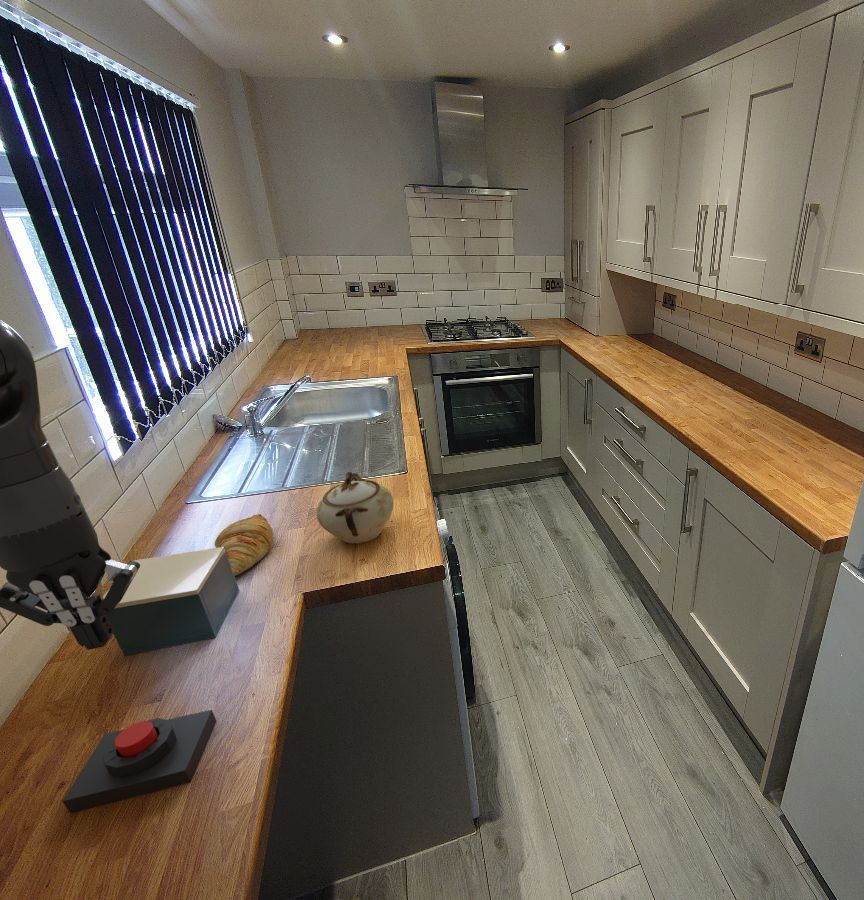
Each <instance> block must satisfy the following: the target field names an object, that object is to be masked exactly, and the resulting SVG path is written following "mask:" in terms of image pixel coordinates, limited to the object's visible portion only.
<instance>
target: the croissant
mask: <svg viewBox="0 0 864 900" xmlns="http://www.w3.org/2000/svg"><path fill="white" fill-rule="evenodd" d="M273 536H274V534H273V528H272V527H271V525H270V523H269V522H268V519H267V518H266V517H265V516H263V515H262V514H261V513H258V514H253V515H252V516H250V517H247V518H244V519H240V520H237V521H235V522H233V523H230V524H229V525H228V526H226V527H225V528H223V530H222V531H220V532H219V534H218V535H217V537H216V538H215V540H214V544H213V545H214V548H219V547H224V549H225V552H226V554H227V557H228V560H229V563H230V566H231V568H232V571H233V574H234V577H236V576H238V575H240V574H242V573H243V572H245V571H247V570H249V569H250V568H252V567H253V566H254V565H255V564H257V563H258V562H259V561H261V560H262V559H263V558H264V557H265V556H266V555H267V554H268V553H270V552H271V551H272V550H273V542H274V541H273V540H274V539H273Z"/></svg>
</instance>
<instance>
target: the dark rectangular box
mask: <svg viewBox="0 0 864 900" xmlns="http://www.w3.org/2000/svg"><path fill="white" fill-rule="evenodd" d="M239 593H240V588H239V585H238V583H237V580H236V576H234V574H233V571H232V568H231V566H230V563H229V560H228V557H227V554H226V552H225V551H224V553H223V554H222V556H221V558H220V559H219V561H218V563H217V564H216V566H215V567H214V569H213V571H212V572H211V574H210V576H209V577H208V579H207V580H206V582H205V584H204V585H203V587H202V589H201V590H200V592H199V594H196V595H190V596H184V597H178V598H172V599H166V600H161V601H155V602H149V603H143V604H137V605H131V606H126V607H120V608H114V610H113V611H112V612H111V613H110V614H109V615H107V616H108V618H109V620H110V622H111V624H112V626H113V628H114V633H113V636H114V638H115V641H116V642H117V644H118V646H119V648H120V650H121V652H122V654H123V656H128V655H133V654H139V653H144V652H149V651H154V650H159V649H164V648H169V647H174V646H180V645H185V644H189V643H190V644H191V643H195V642H200V641H205V640H209V639H216V637H217V636H218V634H219V632H220V630H221V628H222V626H223V624H224V622H225V620H226V618H227V616H228V614H229V613H230V610H231V608H232V606H233V604H234V602H235V600H236V599H237V596H238V594H239Z"/></svg>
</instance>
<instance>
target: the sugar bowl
mask: <svg viewBox="0 0 864 900" xmlns="http://www.w3.org/2000/svg"><path fill="white" fill-rule="evenodd" d="M393 509H394V498H393V496H392V494H391V492H390V491H389V490H388V488H386V487H385V486H384V485H382V484H380V483H378V482H377V481H374V480H370V479H364V478H361V477H360V475H359V473H357V472H352V471H348V472H346V474H345V480H344V481H343V483H341V484H338V485H335V486H334V487H333V486H332V487H331V488H330V489H328V491H326V492H325V493H324V494H323V496H322V498H321V499H320V501H319V502H318V505H317V507H316V519H317V522H318V523H319V525H320V527H322V529H323V530H325V531H326V532H328V533H329V534H331V535H333V537H336V538H338V539H340V540H341V541H342V542H344V543H346V544H351V543H356V544H362V542H363V543H367V542H370V541H373V540H375V539H376V538H377V537H378V536H380V535H381V534H382V532H383V530H384V528H385V526H386V525H387V523H388V521H389V519H390V518H391V515H392V514H393V513H392V512H393V511H394V510H393ZM380 533H381V534H380ZM379 534H380V535H379Z"/></svg>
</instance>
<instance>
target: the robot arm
mask: <svg viewBox="0 0 864 900" xmlns="http://www.w3.org/2000/svg"><path fill="white" fill-rule="evenodd" d="M36 367H37V366H36V363H35V359H34V355H33V353H32V352H31V348H30V347H29V346H28V344H27V343H26V340H24V339H23V337H22V335H20V334H19V333H18V332H17V331H16V330H15V329H14V328H12V326H10V325H9V324H8V323H6V322H5V321H3V320H2V319H0V568H1V569H3V570H4V571H6V574H5V579H6V581H7V582H5V583H4V584H2V585H1V587H0V608H2V609H3V610H6V611H8V612H10V613H13V614H15V615H18V616H20V617H22V618H25V619H28V620H30V621H32V622H35V623H37V624H39V625H42V626H44V627H50V626H52V625H54V624H62V625H63V626H65V627H68V628H69V630H70V631H71V633H72V635H73V637H74V639H75V641H76V642H77V644H78V645H80V646H81V647H84V648H85V650H86V651H89V650H94V649H100V648H104V647H105V646H106V645H107V644H108V642H109V641H110V640H111V639H112V636H114V634H113V633H114V628H113V626H112V624H111V622H110V620H109V618H108V616H107V615H109V614H110V613H111V612H112V611H113V610H114V608H115V606H116V605H117V604H118V603H119V602H120V601H121V600H122V598H123V596H124V594H125V593H126V591H127V589H128V587H129V586H130V584H131V582H132V580H133V578H134V577H135V575H136V573H137V571H138V570H139V568H140V564H139V563H138V562H136V561H134V560H131V561H128V563H124V562H121V561H120V562H119V561H117V560H113V559H112V557H111V554H110V553H109V552H108V551H106V550H105V549H104V548H102V547H101V545H100V543H99V538H98V533H97V532H96V529H95V527H94V525H93V523H92V521H91V519H90V517H89V514H88V512H87V509H85V506H84V504H83V502H82V498H81V497H80V495H79V493H78V491H77V489H76V488H75V486H74V483H73V481H72V480H71V479H70V477H69V476H68V475H67V473H66V472H65V470H64V469H63V467H62V466H61V464H60V463H59V460H58V458H57V455H56V454H55V452H54V449H53V448H52V445H51V444H50V441H49V439H48V437H47V436H46V434H45V432H44V430H43V426H42V413H41V403H40V394H39V393H40V392H39V385H38V384H39V383H38V374H37V368H36ZM105 574H107V580H108V581H107V583H108V584H110V587H109V589H108V590H109V591H108V590H107V591H108V593H107V595H106V596H105V598H103V596H104V595H103V593H102V592H103V585H102V580H103V578H104V576H105Z"/></svg>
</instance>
